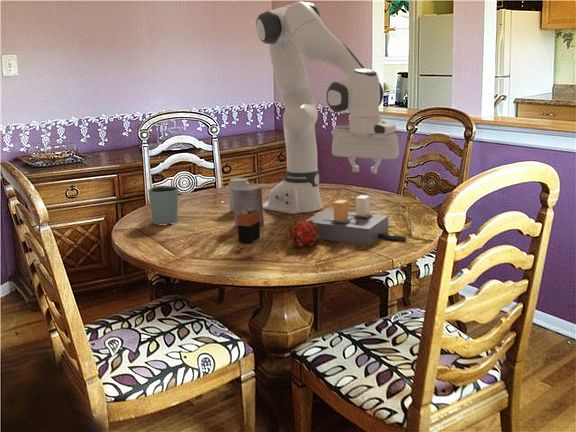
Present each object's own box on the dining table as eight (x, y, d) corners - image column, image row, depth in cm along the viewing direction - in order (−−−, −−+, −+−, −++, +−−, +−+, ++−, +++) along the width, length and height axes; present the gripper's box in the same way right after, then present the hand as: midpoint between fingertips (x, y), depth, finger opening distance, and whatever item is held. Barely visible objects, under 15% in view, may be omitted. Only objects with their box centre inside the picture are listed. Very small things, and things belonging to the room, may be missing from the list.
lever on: (352, 216, 202) (352, 197, 201) (358, 212, 207) (358, 194, 205) (367, 218, 200) (367, 199, 199) (373, 214, 204) (373, 195, 203)
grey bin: (145, 222, 224) (142, 189, 221) (168, 216, 232) (166, 184, 228) (163, 227, 218) (160, 193, 215) (186, 221, 225) (183, 187, 222)
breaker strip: (304, 236, 202) (303, 221, 201) (326, 223, 215) (325, 209, 214) (397, 248, 187) (397, 231, 186) (414, 233, 201) (414, 218, 199)
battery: (260, 238, 202) (259, 207, 200) (249, 244, 196) (248, 212, 194) (249, 236, 204) (247, 206, 201) (237, 242, 198) (236, 211, 196)
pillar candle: (250, 220, 223) (247, 178, 219) (269, 225, 216) (267, 181, 212) (229, 226, 216) (225, 183, 212) (248, 231, 210) (245, 187, 206)
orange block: (330, 221, 198) (329, 202, 196) (337, 217, 202) (336, 199, 200) (345, 223, 195) (344, 204, 194) (351, 219, 199) (351, 200, 198)
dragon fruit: (315, 244, 199) (299, 261, 190) (294, 227, 200) (277, 243, 191) (329, 225, 195) (313, 242, 185) (307, 208, 196) (290, 224, 186)
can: (242, 214, 231) (240, 181, 228) (226, 212, 235) (224, 180, 232) (254, 209, 237) (252, 177, 234) (238, 207, 241) (236, 176, 238)
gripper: (327, 126, 189) (328, 172, 193) (393, 128, 180) (393, 176, 183) (336, 123, 195) (337, 168, 198) (401, 125, 185) (400, 172, 189)
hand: (364, 172), depth 191 cm, fingers open, 4 cm apart
